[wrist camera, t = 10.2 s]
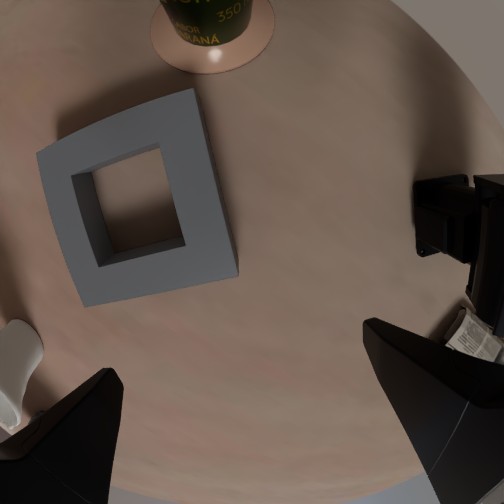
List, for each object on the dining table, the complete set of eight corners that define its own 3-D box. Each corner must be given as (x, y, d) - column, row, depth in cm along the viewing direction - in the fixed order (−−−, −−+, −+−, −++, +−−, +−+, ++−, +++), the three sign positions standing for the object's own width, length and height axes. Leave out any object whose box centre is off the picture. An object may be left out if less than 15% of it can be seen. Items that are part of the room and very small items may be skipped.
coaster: (258, -26, 14) (259, -29, 13) (287, 61, 17) (288, 60, 16) (145, -2, 14) (144, -4, 14) (161, 89, 17) (159, 87, 16)
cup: (24, 369, 24) (-12, 421, 15) (-8, 304, 21) (-59, 349, 12) (73, 375, 24) (36, 440, 15) (37, 301, 21) (-22, 358, 12)
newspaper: (521, 363, 31) (531, 373, 28) (481, 412, 34) (489, 423, 31) (454, 297, 24) (474, 312, 21) (384, 384, 27) (396, 405, 24)
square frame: (199, 97, 17) (193, 87, 14) (238, 260, 21) (238, 276, 18) (57, 151, 18) (36, 153, 15) (99, 290, 21) (84, 307, 18)
